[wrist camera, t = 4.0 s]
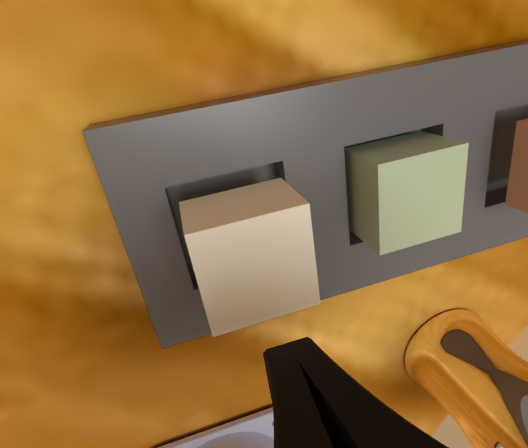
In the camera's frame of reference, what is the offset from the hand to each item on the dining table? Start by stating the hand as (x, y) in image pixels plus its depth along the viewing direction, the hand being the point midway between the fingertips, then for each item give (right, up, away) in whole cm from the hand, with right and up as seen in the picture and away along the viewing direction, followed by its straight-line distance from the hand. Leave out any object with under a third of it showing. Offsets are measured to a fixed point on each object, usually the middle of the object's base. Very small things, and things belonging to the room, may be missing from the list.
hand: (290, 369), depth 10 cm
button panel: (+5, +6, +8) cm, 11 cm away
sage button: (+5, +6, +7) cm, 11 cm away
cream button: (-2, +4, +4) cm, 6 cm away
